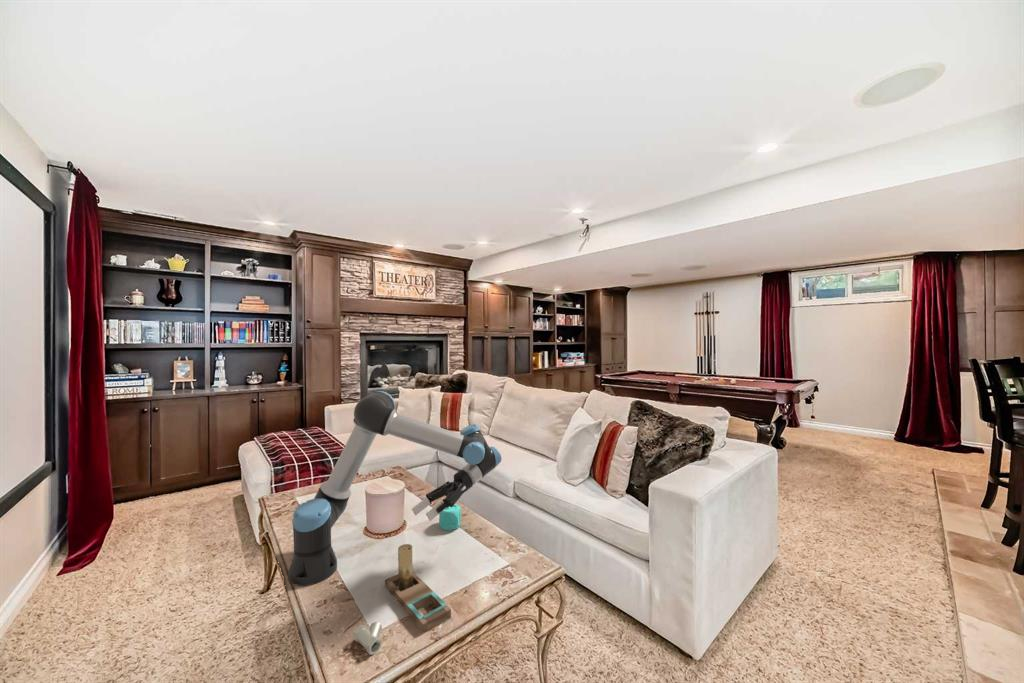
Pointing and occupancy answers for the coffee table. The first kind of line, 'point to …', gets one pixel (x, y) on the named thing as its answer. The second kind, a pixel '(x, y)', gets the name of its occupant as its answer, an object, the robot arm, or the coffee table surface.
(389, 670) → the coffee table surface
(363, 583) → the coffee table surface
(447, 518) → the decorative dice
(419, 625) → the walnut rail
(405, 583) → the brass peg
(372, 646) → the pipe fitting
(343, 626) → the coffee table surface
